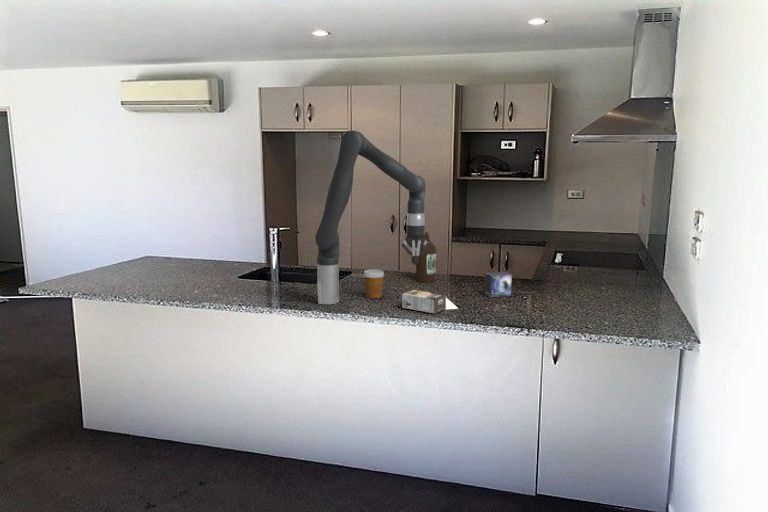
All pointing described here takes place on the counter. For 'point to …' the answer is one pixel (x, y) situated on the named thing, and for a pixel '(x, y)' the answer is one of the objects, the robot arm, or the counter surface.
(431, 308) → the coffee box
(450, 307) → the mat
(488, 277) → the small box
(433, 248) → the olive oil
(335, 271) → the robot arm
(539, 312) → the counter surface
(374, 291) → the disposable coffee cup
